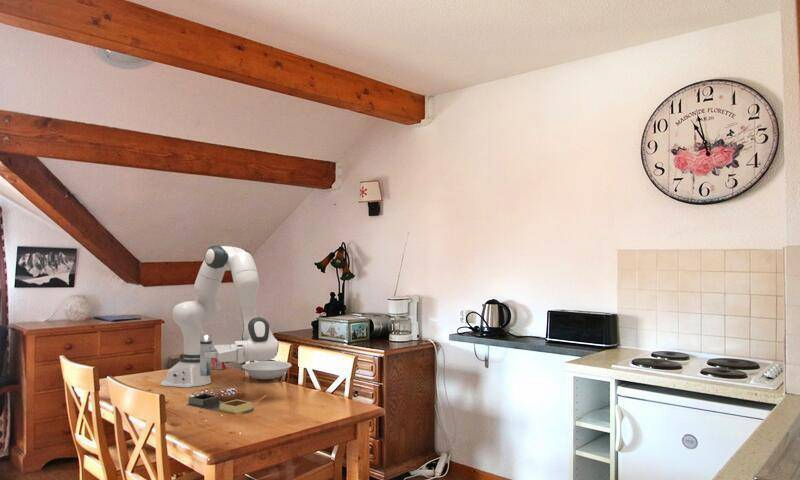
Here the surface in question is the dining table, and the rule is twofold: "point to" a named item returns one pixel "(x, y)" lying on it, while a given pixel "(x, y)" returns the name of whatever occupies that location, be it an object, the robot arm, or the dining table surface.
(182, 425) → the dining table surface
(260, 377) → the soup bowl
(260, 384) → the dining table surface
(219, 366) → the soda can
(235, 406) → the plate
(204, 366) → the tube
